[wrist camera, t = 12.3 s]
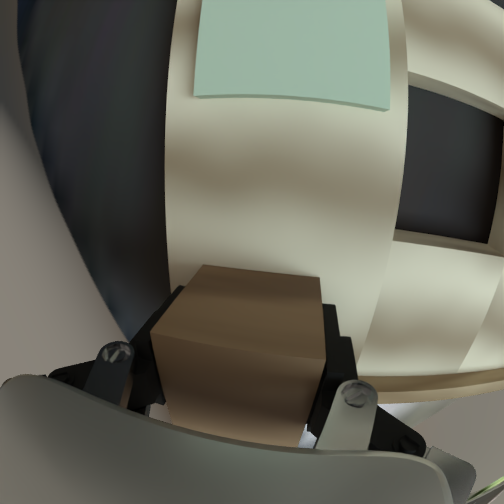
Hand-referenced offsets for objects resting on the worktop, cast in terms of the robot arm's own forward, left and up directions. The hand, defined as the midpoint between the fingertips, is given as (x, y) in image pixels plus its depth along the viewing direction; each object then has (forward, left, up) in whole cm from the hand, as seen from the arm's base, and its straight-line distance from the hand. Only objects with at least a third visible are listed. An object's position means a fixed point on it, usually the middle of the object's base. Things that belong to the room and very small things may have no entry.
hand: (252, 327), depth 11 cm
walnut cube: (+1, 0, -1) cm, 1 cm away
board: (-6, +11, -3) cm, 13 cm away
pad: (-12, +1, -1) cm, 13 cm away
